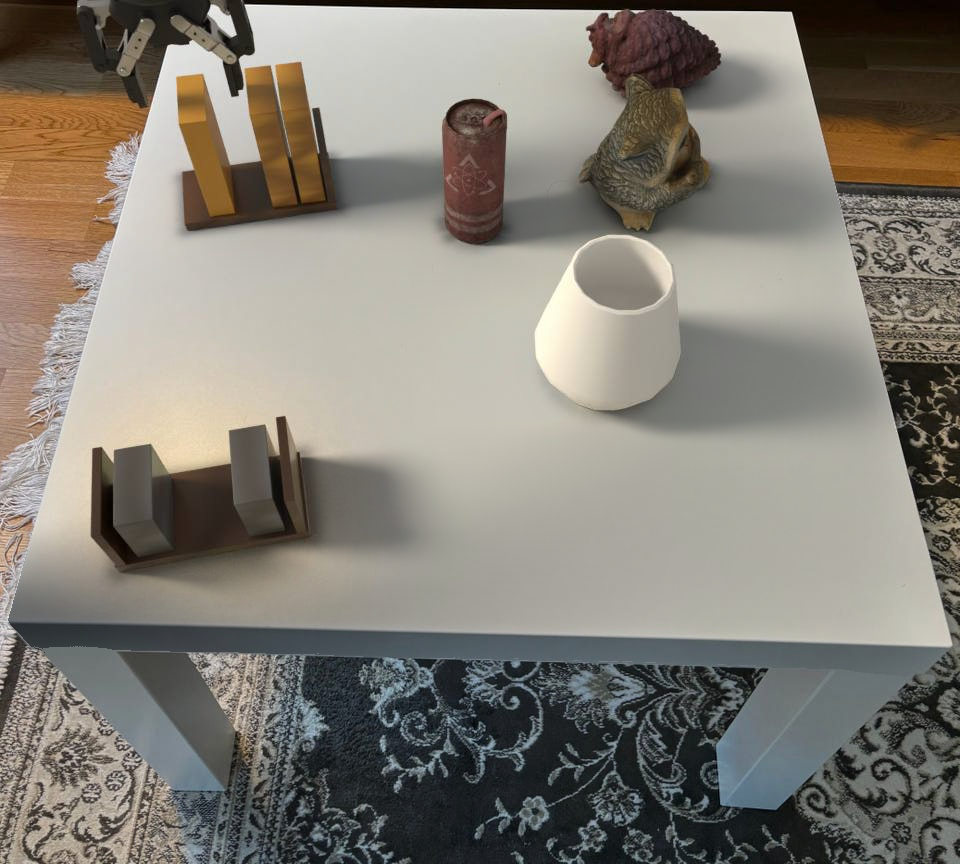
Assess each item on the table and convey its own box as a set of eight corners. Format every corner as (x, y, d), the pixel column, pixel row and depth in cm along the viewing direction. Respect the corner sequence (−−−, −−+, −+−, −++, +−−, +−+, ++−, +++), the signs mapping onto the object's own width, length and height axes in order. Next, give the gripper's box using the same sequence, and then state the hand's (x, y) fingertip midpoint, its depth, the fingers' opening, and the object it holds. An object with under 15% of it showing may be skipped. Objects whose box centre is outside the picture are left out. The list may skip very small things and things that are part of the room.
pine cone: (696, 44, 111) (745, 4, 101) (697, 122, 110) (746, 90, 101) (566, 21, 105) (604, -23, 96) (567, 104, 105) (605, 68, 95)
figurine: (721, 248, 93) (761, 133, 80) (582, 246, 93) (600, 131, 80) (704, 155, 100) (739, 35, 88) (575, 153, 100) (591, 33, 87)
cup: (542, 305, 89) (554, 202, 77) (676, 326, 88) (709, 225, 76) (520, 416, 82) (529, 322, 70) (665, 441, 81) (699, 350, 69)
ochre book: (210, 217, 93) (178, 124, 83) (207, 171, 97) (175, 76, 87) (235, 213, 94) (206, 120, 83) (231, 167, 97) (202, 73, 87)
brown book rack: (118, 572, 74) (87, 537, 68) (118, 488, 78) (89, 448, 72) (311, 536, 76) (297, 499, 70) (301, 456, 80) (287, 415, 74)
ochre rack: (186, 230, 94) (148, 131, 82) (184, 178, 98) (147, 76, 87) (338, 209, 95) (320, 109, 84) (329, 158, 99) (311, 56, 88)
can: (515, 231, 94) (522, 123, 82) (463, 253, 92) (462, 147, 80) (485, 195, 97) (488, 86, 85) (434, 217, 95) (430, 108, 83)
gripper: (223, -108, 74) (261, 64, 88) (45, -91, 72) (113, 81, 86) (228, -58, 70) (267, 113, 84) (41, -39, 68) (112, 132, 82)
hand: (189, 97), depth 85 cm, fingers open, 8 cm apart
